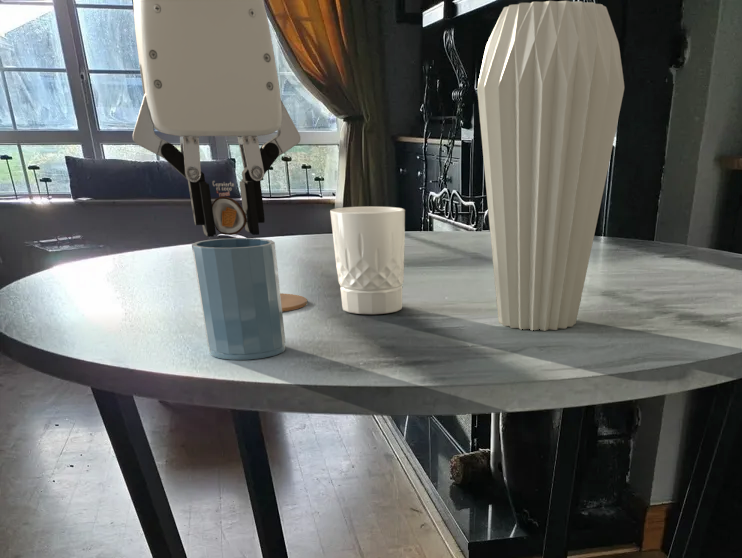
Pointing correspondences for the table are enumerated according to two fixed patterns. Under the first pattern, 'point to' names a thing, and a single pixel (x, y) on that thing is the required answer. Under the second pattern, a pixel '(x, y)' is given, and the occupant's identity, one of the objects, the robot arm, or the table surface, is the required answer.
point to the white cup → (369, 257)
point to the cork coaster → (292, 302)
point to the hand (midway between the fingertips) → (231, 231)
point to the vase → (547, 152)
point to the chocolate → (228, 213)
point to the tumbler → (240, 297)
